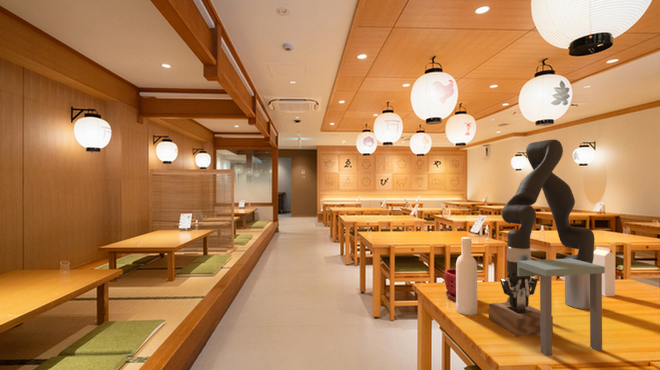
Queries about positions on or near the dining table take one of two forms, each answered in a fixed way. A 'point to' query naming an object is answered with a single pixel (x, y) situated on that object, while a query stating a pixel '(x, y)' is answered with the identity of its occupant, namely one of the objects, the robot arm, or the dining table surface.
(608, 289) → the milk
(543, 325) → the small grey stool
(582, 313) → the dining table surface
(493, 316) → the socket block
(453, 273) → the plant pot
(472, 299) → the bottle
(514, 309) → the peg
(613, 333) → the dining table surface
